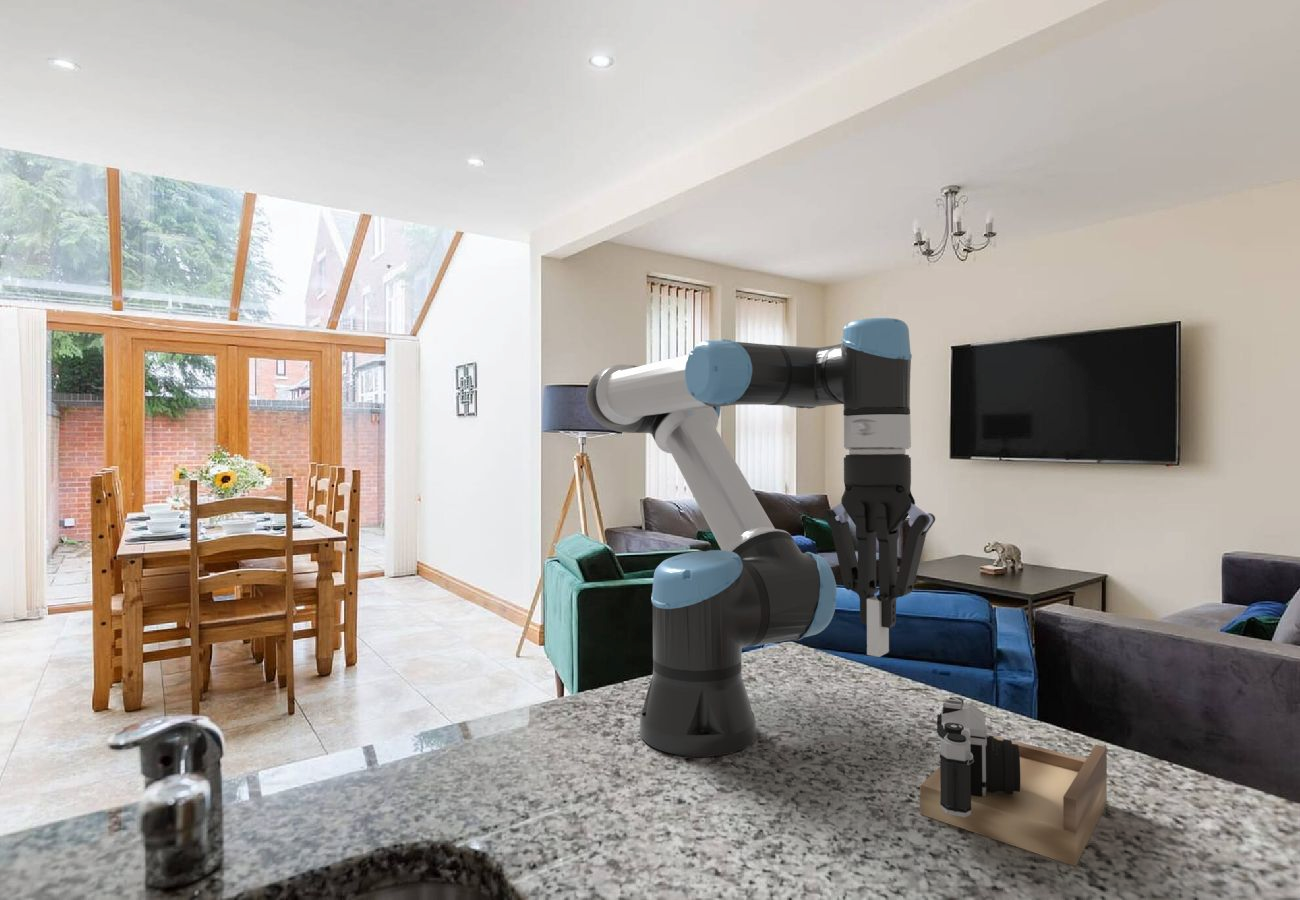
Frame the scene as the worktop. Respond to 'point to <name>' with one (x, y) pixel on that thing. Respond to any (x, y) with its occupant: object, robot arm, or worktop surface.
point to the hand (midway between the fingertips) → (878, 653)
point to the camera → (972, 758)
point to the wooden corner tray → (1036, 803)
